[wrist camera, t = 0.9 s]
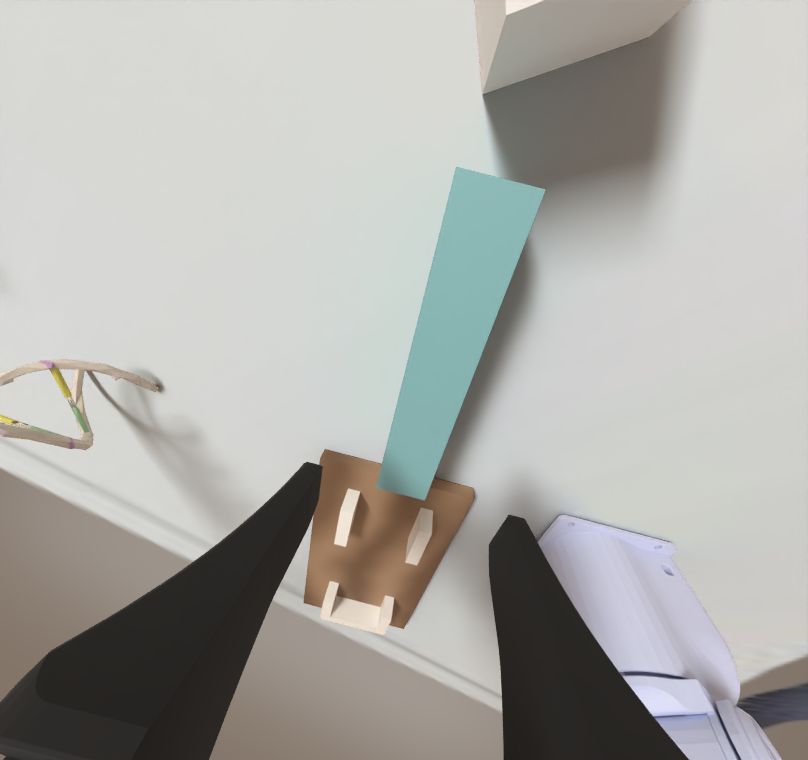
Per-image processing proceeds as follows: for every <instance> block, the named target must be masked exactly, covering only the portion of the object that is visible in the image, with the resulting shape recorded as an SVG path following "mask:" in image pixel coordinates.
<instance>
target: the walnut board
mask: <svg viewBox="0 0 808 760" xmlns="http://www.w3.org/2000/svg"><path fill="white" fill-rule="evenodd" d="M319 465H321V466H323V469H322V478H321V486H320V494H319V501H318V504H317V506H316V509H315V512H314V517H313V525H312V534H311V543H310V552H309V560H308V569H307V578H306V586H305V595H304V603H306V604H310V605H313V606H317V607H321V608H322V605H323V601H324V598H325V595H326V592H327V588H328V585H329V582H330V581H332V582H336V583H339V586H338V590H337V595H336V596H339V597H343V598H347V599H351V600H355V601H359V602H362V603H366V604H370V605H374V606H378V607H381V604H382V602H383V599H384V597H385V595H386V596H390V597H394V604H393V611H392V618H391V622H390V624H389V625H391V626H394V627H398V628H402V629H404V627H405V625H406V624H407V622H408V620H409V618H410V616H411V614H412V612H413V611H414V609H415V607H416V605H417V603H418V601H419V600H420V598H421V596H422V594H423V592H424V590H425V588H426V587H427V585H428V583H429V581H430V579H431V577H432V576H433V574H434V572H435V570H436V568H437V566H438V564H439V563H440V561H441V559H442V557H443V555H444V553H445V552H446V550H447V548H448V546H449V544H450V542H451V540H452V539H453V537H454V535H455V533H456V531H457V529H458V528H459V526H460V524H461V522H462V520H463V518H464V516H465V515H466V513H467V511H468V509H469V507H470V505H471V504H472V502H473V500H474V493H473V488H471V487H467V486H463V485H459V484H455V483H451V482H448V481H444V480H440V479H436V478H433V481H432V483H431V486H430V488H429V491H428V493H427V496H426V499H425V500H421V499H417V498H413V497H409V496H405V495H401V494H397V493H393V492H389V491H385V490H382V489H378V488H376V486H377V482H378V478H379V474H380V470H381V466H382V464H379V463H375V462H371V461H368V460H364V459H360V458H356V457H352V456H349V455H345V454H341V453H337V452H333V451H330V450H326V449H325V450H324V452H323V454H322V456H321V458H320V464H319ZM348 488H349V489H352V490H356V491H360V495H359V499H358V503H357V508H356V512H355V516H354V521H353V525H352V528H351V532H350V535H349V538H348V542H347V545H346V547H344V546H340V545H336V544H334V541H335V536H336V531H337V525H338V520H339V515H340V510H341V507H342V504H343V501H344V498H345V496H346V493H347V490H348ZM421 508H425V509H429V510H433V522H432V535H431V537H430V539H429V541H428V543H427V546H426V548H425V550H424V552H423V554H422V556H421V558H420V560H419V563H418V565H413V564H409V563H405V560H406V552H407V543H408V538H409V536H410V533H411V531H412V528H413V526H414V523H415V521H416V518H417V516H418V513H419V511H420V509H421Z"/></svg>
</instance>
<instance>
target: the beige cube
mask: <svg viewBox="0 0 808 760" xmlns="http://www.w3.org/2000/svg"><path fill="white" fill-rule="evenodd" d="M691 1H692V0H474V4H475V16H476V28H477V39H478V51H479V63H480V74H481V86H482V94H485V93H488V92H491V91H494V90H497V89H500V88H502V87H505V86H508V85H511V84H514V83H517V82H520V81H523V80H526V79H529V78H532V77H534V76H537V75H540V74H543V73H546V72H549V71H552V70H555V69H558V68H561V67H564V66H566V65H569V64H572V63H575V62H578V61H581V60H584V59H587V58H590V57H593V56H596V55H598V54H601V53H604V52H607V51H610V50H613V49H616V48H619V47H622V46H625V45H628V44H630V43H633V42H636V41H639V40H642V39H645V38H648V37H650V36H651V35H652V34H653V33H654V32H656V31H657V30H658V29H659V28H660V27H661V26H663V25H664V24H665V23H666V22H667V21H669V20H670V19H671V18H672V17H673V16H674V15H676V14H677V13H678V12H679V11H680V10H682V9H683V8H684V7H685V6H686V5H687V4H689V3H690V2H691Z"/></svg>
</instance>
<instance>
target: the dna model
mask: <svg viewBox="0 0 808 760" xmlns="http://www.w3.org/2000/svg"><path fill="white" fill-rule="evenodd" d="M46 369H50V371H51V373H52V375H53V376H54V378H55V380H56V382H57V384H58V385H59V387H60V389H61V391H62V393H63V395H64V396H65V397H66V398H68V397H71V396H72V397H71V399H72V401H71V400H70V401H71V403H72V402H73V403H72V404H71V403H70V401H69V400H68V399H67V400H68V402H69V404H70V406H71V408H72V410H73V412H74V414H75V416H76V420H77V423H78V427H79V430H80V434H81V440H77V439H72V438H70V437H66V436H62V435H59V434H56V433H53V432H50V431H47V430H44V429H40V428H37V427H34V426H31V425H28V424H25V423H22V422H19V421H16V420H13V419H11V418H8V417H5V416H2V415H0V421H2V422H5V423H8V424H10V425H6V424H4V423H0V436H2V437H11V438H20V439H29V440H33V441H38V442H42V443H47V444H51V445H56V446H60V447H64V448H69V449H74V448H75V449H82V450H86V449H88V448H90V447H91V446H92V445H93V433H92V430H91V428H90V425H89V422H88V419H87V416H86V413H85V408H84V401H83V395H82V385H83V378H84V371H85V370H87V371H95V372H99V373H103V374H107V375H110V376H111V377H112V378H113V379H114V380H117V379H119V378H123V379H126V380H128V381H130V382H133V383H135V384H137V385H140V386H142V387H144V388H147V389H149V390H151V391H154V392H156V391H157V390H158V388H159V387H157V386H155V385H154V384H152V383H150V382H148V381H147V380H145V379H143V378H141V377H139V376H136V375H134V374H131V373H128V372H125V371H122V370H120V369H117V368H114V367H111V366H108V365H106V364H100V363H92V362H84V361H76V360H68V359H61V360H46V361H38V362H34V363H30V364H27V365H24V366H21V367H18V368H15V369H12V370H9V371H6V372H4V373H1V374H0V386H2V385H5V384H8V383H11V382H13V379H14V378H16V377H18V376H21V375H24V374H26V373H31V372H36V371H41V370H46ZM59 369H76V370H75V373H74V379H73V386H72V391H71V392H70V390H69V388H68V386H67V384H66V382H65V380H64V378H63V376H62V374H61V373H60V371H59ZM72 405H73V406H72ZM16 423H17V424H18V423H22V424H25V425H22V424H19V425H17V424H16ZM12 425H16V426H12ZM20 425H21V426H20ZM26 425H27V426H26ZM17 426H19V427H17ZM23 426H24V427H23Z"/></svg>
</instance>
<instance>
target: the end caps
mask: <svg viewBox="0 0 808 760" xmlns="http://www.w3.org/2000/svg"><path fill="white" fill-rule="evenodd" d="M359 495H360V491H356V490H352V489H349V488H348V490H347V493H346V496H345V498H344V501H343V504H342V507H341V510H340V515H339V520H338V525H337V531H336V536H335V541H334V544H336V545H340V546H344V547H346V545H347V542H348V538H349V535H350V532H351V528H352V525H353V521H354V516H355V512H356V508H357V503H358V499H359ZM432 522H433V510H429V509H425V508H421V509H420V511H419V513H418V516H417V518H416V521H415V523H414V526H413V528H412V531H411V533H410V536H409V538H408V543H407V552H406V560H405V563H409V564H413V565H418V563H419V560H420V558H421V556H422V554H423V552H424V550H425V548H426V546H427V543H428V541H429V539H430V537H431V535H432ZM338 586H339V583H336V582H332V581H330V582H329V585H328V588H327V592H326V595H325V598H324V601H323V605H322V611H321V616H320V619H323V620H327V621H331V622H334V623H338V624H342V625H346V626H350V627H354V628H358V629H361V630H365V631H369V632H373V633H377V634H381V635H384V634H385V632H386V630H387V628H388V626H389V624H390V622H391V618H392V611H393V604H394V597H390V596H386V595H385V597H384V599H383V602H382V604H381V607H378V606H374V605H370V604H366V603H362V602H359V601H355V600H351V599H347V598H343V597H339V596H336V595H337V590H338Z"/></svg>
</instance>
